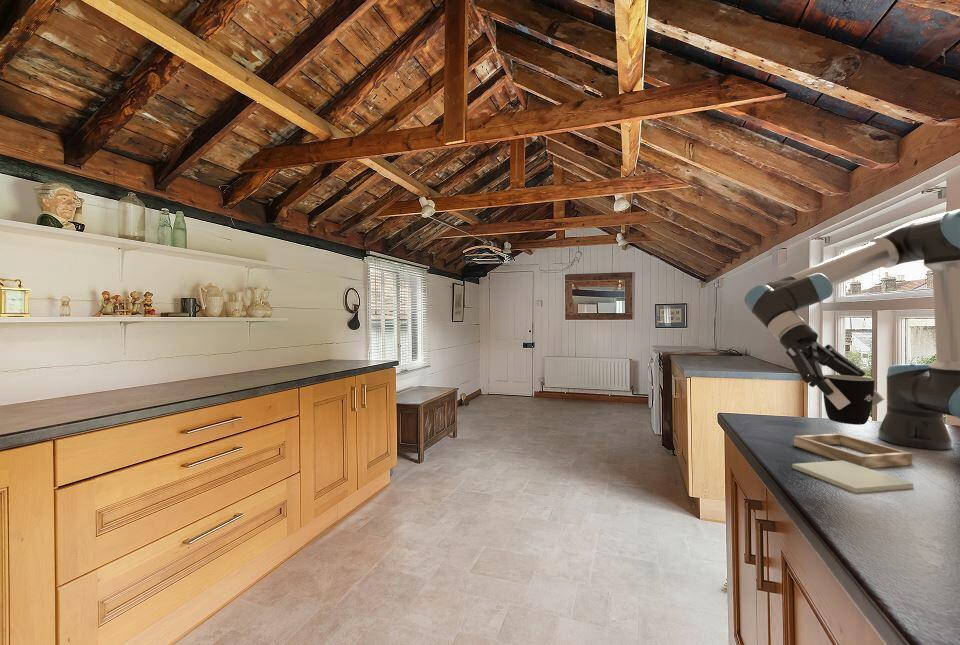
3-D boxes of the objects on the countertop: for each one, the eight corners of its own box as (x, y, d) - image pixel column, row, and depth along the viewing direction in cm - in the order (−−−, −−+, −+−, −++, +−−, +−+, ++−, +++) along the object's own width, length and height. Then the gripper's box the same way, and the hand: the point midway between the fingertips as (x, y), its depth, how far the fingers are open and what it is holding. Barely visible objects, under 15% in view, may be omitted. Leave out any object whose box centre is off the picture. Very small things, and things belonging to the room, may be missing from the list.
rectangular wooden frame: (839, 442, 125) (839, 433, 125) (912, 464, 107) (912, 453, 107) (793, 445, 123) (794, 436, 123) (861, 468, 105) (861, 457, 105)
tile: (843, 464, 108) (843, 460, 108) (913, 488, 93) (913, 483, 93) (792, 467, 105) (792, 463, 105) (855, 493, 90) (855, 488, 90)
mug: (870, 428, 92) (871, 381, 92) (817, 420, 99) (818, 376, 98) (878, 419, 100) (879, 376, 100) (829, 412, 107) (830, 372, 106)
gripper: (812, 341, 117) (880, 409, 103) (750, 343, 109) (813, 417, 95) (834, 322, 112) (909, 391, 98) (770, 322, 104) (840, 398, 90)
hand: (861, 404), depth 96 cm, fingers closed on mug, 11 cm apart
